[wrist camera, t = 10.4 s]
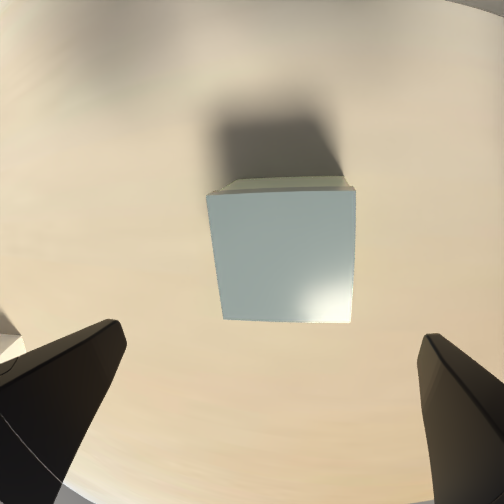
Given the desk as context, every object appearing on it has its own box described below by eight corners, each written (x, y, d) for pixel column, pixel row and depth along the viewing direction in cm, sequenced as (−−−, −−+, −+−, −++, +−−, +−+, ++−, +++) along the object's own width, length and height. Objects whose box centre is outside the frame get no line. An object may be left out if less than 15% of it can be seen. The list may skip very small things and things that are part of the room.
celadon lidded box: (344, 275, 18) (350, 322, 14) (245, 275, 20) (223, 319, 15) (345, 173, 16) (355, 190, 12) (235, 177, 18) (205, 195, 13)
